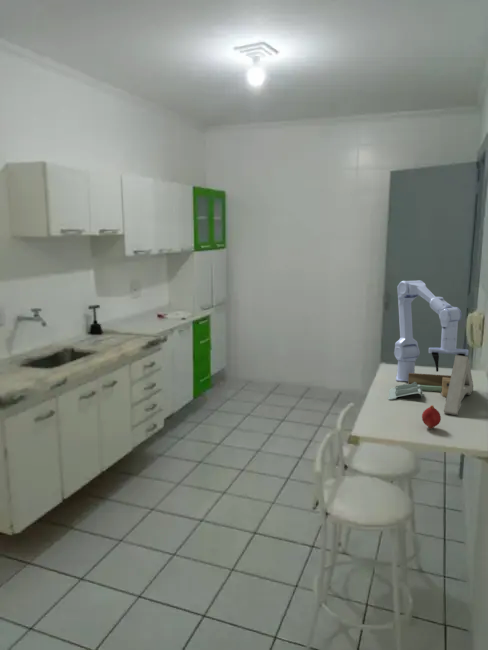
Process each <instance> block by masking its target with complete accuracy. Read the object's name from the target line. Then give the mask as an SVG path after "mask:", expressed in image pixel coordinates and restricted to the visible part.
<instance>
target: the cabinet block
mask: <svg viewBox="0 0 488 650" xmlns="http://www.w3.org/2000/svg"><path fill="white" fill-rule="evenodd" d="M450 379H451V378H444V377H443V378H442V392H441V396H442V397H445V398H447V394H448V389H449V384H450Z"/></svg>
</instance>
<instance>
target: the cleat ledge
mask: <svg viewBox="0 0 488 650" xmlns="http://www.w3.org/2000/svg"><path fill="white" fill-rule="evenodd" d="M417 385H419V384H417ZM420 386H422V392H424V391H425V392H435V393H442V386H433V385H420Z"/></svg>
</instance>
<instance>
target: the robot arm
mask: <svg viewBox="0 0 488 650" xmlns="http://www.w3.org/2000/svg"><path fill="white" fill-rule="evenodd" d="M396 288H397V289H396V290H397V304H398V319H399V339H398V340H397V341H396V342H395V343H394V351H393V355H394V358H395V359H396V360H397V370H396V371H397V372H396V373H397V374H396V375H395V381H396V382H397V381H398V382H408V378H409V373H415V367H416V361H417V359H418V358H419V356H420V354H421V353H420V348H419V343H418V341H417V340H416V339H415V338H414V333H413V315H412V313H413V311H412V302H413V301H414V300H415V299H416V298H418V297H421V298H422V299H423V300H424V301H426V302H427V303H429V308H431V310H433V312H434V313H436V314H437V315H438V317H439V322H440V326H441V337H440V347H428V354H431V356H432V358H433V361H434V365H435V371H436V372H439V359H440V358H439V357H440V356H439V355H441V354H443V355H445V354H446V355H459V356H469V352H470V351H469V349H465V348H457V343H458V341H457V340H458V329H459V327H458V324H459V322H460V321H462V315H463V314H462V311H461V309H460V308H459V307H458V306H453V305H451V304H450V303H448V301H446V300H445V299H444V297H443V296H436V295H434V293H432V291H431V290H430V289H429V288H428V287H427V285H426V283H425V282H424V281H423V280H420V279H418V280H402V281H400V282H399V283H398V285H397V286H396Z"/></svg>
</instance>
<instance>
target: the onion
mask: <svg viewBox="0 0 488 650" xmlns="http://www.w3.org/2000/svg"><path fill="white" fill-rule="evenodd" d="M421 420H422V422H423V424H424V425H425V426H427V427H428V428H429V429H433V428H435V427H436V426H438V425H439V424H440V423H441V420H442V417H441V413H440V412H439V410H437V408H435V406H434V405H430V406H429V407H427V408H426V409H424V410H423V412H422V414H421Z"/></svg>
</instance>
